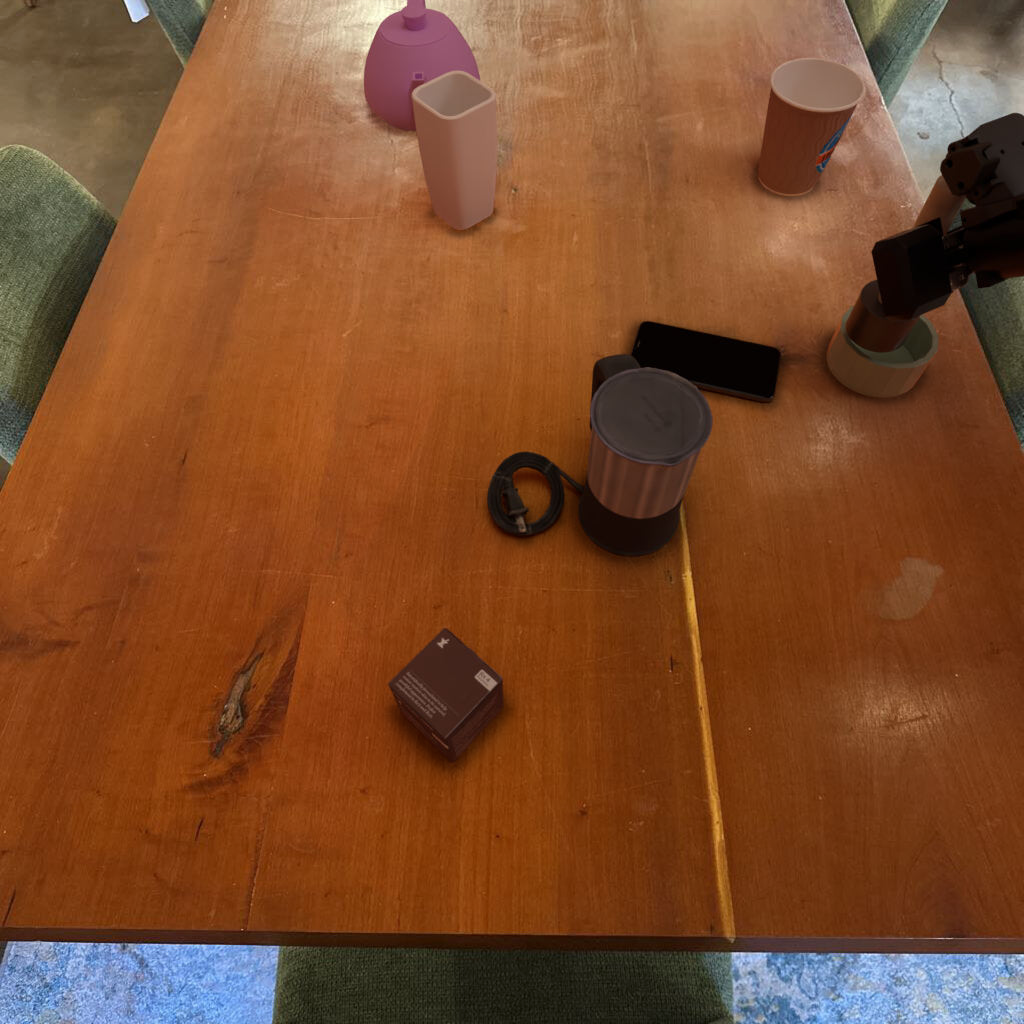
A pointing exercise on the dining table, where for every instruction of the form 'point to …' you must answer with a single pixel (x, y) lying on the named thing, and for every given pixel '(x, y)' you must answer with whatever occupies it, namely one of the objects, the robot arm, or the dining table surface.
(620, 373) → the milk frother
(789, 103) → the coffee cup
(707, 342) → the smartphone
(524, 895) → the dining table surface
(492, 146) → the cup
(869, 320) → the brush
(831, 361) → the pale green bowl
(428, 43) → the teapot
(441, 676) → the box
